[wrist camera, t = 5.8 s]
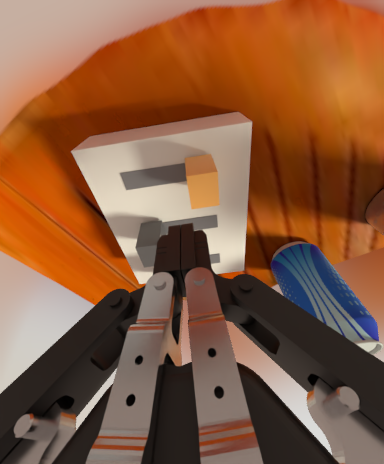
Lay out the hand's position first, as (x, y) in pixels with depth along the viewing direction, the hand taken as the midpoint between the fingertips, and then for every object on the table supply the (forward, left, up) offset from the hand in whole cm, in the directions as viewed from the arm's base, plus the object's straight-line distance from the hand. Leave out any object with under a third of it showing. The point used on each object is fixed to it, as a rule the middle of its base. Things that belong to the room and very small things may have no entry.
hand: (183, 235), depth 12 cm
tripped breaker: (-2, 0, -9) cm, 9 cm away
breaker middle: (+4, +6, -9) cm, 12 cm away
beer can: (-17, +20, -14) cm, 30 cm away
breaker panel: (+1, +6, -14) cm, 15 cm away
